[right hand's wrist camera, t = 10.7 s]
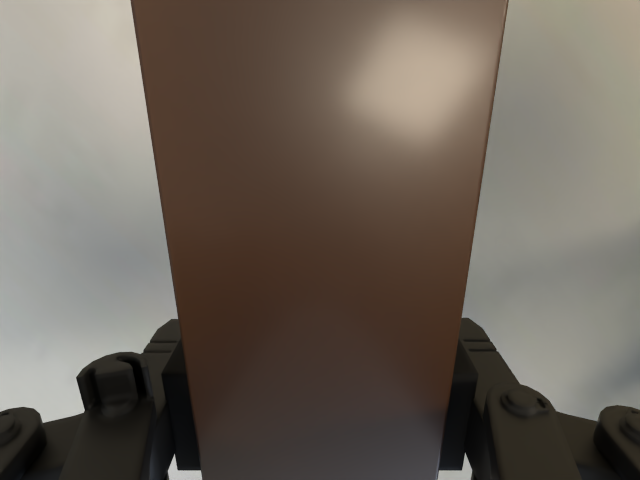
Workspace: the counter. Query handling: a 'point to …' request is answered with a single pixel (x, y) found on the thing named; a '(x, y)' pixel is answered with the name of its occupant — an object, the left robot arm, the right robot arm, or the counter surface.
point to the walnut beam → (319, 221)
